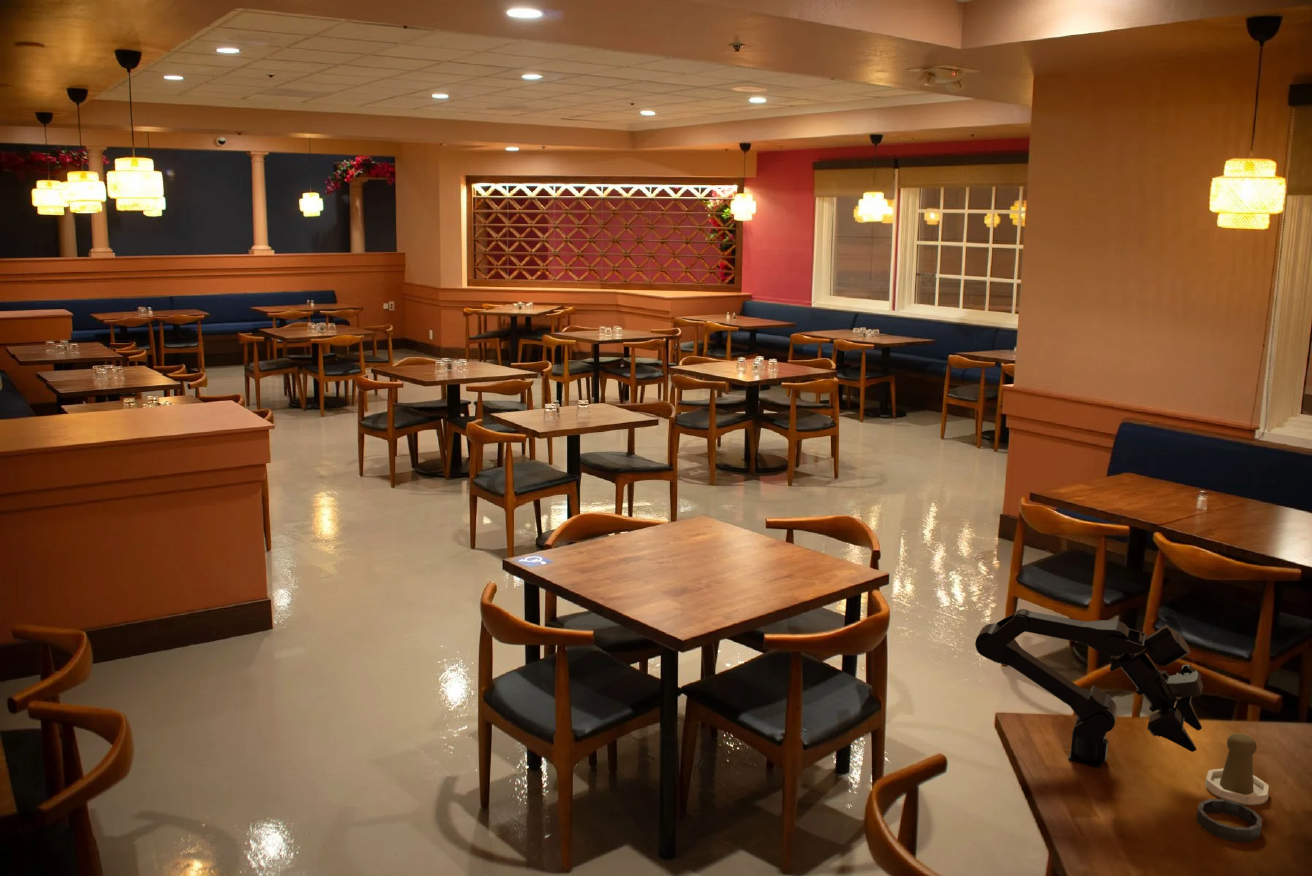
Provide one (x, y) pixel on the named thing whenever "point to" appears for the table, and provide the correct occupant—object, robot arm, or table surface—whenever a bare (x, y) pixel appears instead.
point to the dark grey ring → (1225, 830)
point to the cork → (1239, 764)
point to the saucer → (1254, 798)
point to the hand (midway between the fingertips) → (1197, 739)
